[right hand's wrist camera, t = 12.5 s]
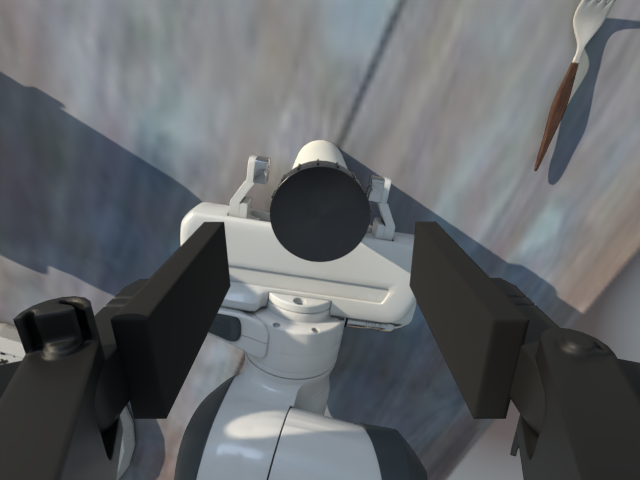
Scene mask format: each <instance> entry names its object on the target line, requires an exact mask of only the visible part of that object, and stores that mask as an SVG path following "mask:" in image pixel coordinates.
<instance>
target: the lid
mask: <svg viewBox="0 0 640 480" xmlns="http://www.w3.org/2000/svg"><path fill="white" fill-rule="evenodd" d="M366 195H367V192H366V190H365V188H364V187H362V186H361V184H360V182H359V180H358V179H357V178H356V176H355V174H354V172H352V173H351V172H350V171H349V170H348V169H346V168H345V167H343V166H341V165H339V164H338V162H336V163H334V162H330V161H322V160H320V161H319V159H317V161H310V162H306V163H303V164H298V166H297V167H295V168H294V169H292V170H291V171H290V172H289V173H287V174H286V175H285V174H284V175H283V177H282V179H281V182H280V184H279V186H278V188H277V190H275V191H274V193H273V195H272V197H271V198H273V199H272V202H271V206H270V215H269V216H270V222H271V226H272V229H273V232H274V234H275V236H276V238H277V240H278V241H279V242H280V244H281V245H282V246H283V247H284V248H285V249H286V250H287V251H289V252H290V253H291V254H293V255H295V256H297V257H299V258H301V259H304V260H307V261H312V262H328V261H333V260H336V259H339V258H341V257H344V256H345V255H347V254H349V253H350V252H351V251H353V250H354V249H355V248H356V247H357V246H358V245H359V244H360V242H361V241H362V240H363V238H364V236H365V234H366V232H367V230H368V226H369V222H370V213H371V211H370V206H369V202H368V198H367V196H366Z"/></svg>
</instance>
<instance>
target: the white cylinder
mask: <svg viewBox="0 0 640 480" xmlns="http://www.w3.org/2000/svg"><path fill="white" fill-rule="evenodd" d="M317 159H319V161H320V160H322V161H330V162H334V163H336V162H338V164H339V165H341V166H343V167H345V168H346V169H347V166H346V164H345V161H344V159H343V156H342V154H341V152H340V151H339V149H338V148H337V147H336V146H335V145H333V144H332V143H330V142H327V141H322V140H317V141H313V142H310V143H308V144H307V145H305V146H304V147H303V148H302V149H301V151H300V152H299V154H298V156H297V159H296V161H295V164H294V166H293V169H294V168H295V167H297V166H298V164H303V163H306V162H310V161H317Z"/></svg>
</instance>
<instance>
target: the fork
mask: <svg viewBox="0 0 640 480" xmlns="http://www.w3.org/2000/svg"><path fill="white" fill-rule="evenodd" d="M606 1H607V0H600V1H599V2H598V0H582V1H581V3H580V4H579V6H578V8H577V10H576V12H575V15H574V19H573V28H574V33H575V36H576V41H577V51H576V54H575V57H574V59H573V61H572V63H571V65H570V67H569V69H568V71H567V74H566V76H565V78H564V80H563V82H562V84H561V86H560V88H559V90H558V92H557V94H556V97H555V99H554V101H553V104H552V107H551V110H550V113H549V117H548V121H547V125H546V129H545V132H544V136H543V140H542V143H541V147H540V150H539V153H538V157H537V160H536V164H535V169H534V171H537V169H538V167H539V166H540V164H541V162H542V159H543V157H544V155H545V153H546V151H547V149H548V147H549V144H550V142H551V140H552V138H553V136H554V134H555V132H556V129H557V127H558V125H559V123H560V121H561V119H562V117H563V115H564V112H565V110H566V107H567V104H568V101H569V98H570V94H571V90H572V87H573V83H574V79H575V75H576V71H577V68H578V64H579V60H580V57H581V54H582V51H583V49H584V47H585V46H586V44H587V43H588V42H589V40H590V39H591V38H592V37H593V36H594V34H595V33H596V32H597V31H598V29H599V28H600V27H601V25H602V24H603V22H604V21H605V19H606V17H607V15H608V14H609V12H610V10H611V8H612V6H613V4H614V3H615V1H616V0H610V1H609V2H608V3H607V4H606Z"/></svg>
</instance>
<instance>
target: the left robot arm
mask: <svg viewBox="0 0 640 480" xmlns="http://www.w3.org/2000/svg"><path fill="white" fill-rule="evenodd" d="M270 160H271V159H270V158H266V157H260V156H255V155H252V156H250V157H249V161H248V170H247V179H246V180H245V182H244V183H243V184H242V186H241V187H240V188H239V190H238V191H237V192H236V194H235V195H234V196H233V198H232V199H231V200H230V206H227V205H221V204H215V203H209V202H202V203H200V204H198V205H197V206H196V207H194V208H193V209H192V210H190V211H189V212H188V213H187V214H186V215H185V217H184V218H183V220H182V223H181V232H180V244H181V245H182V244H183V243H184V242H185V241H186V240H187V239H188V238H189V237H190V236H191V235H192V234H193V233H194V232H195V231H196V230H197V229H198V228H199V227H200V226H201V225H202V224H203V223H204V222H224V224H225V234H226V244H227V254H228V265H229V275H230V285H231V286H230V288H229V290H228V292H227V294H226V296H225V298H224V301H223V303H222V305H221V307H220V309H219V311H218V313H217V315H216V317H215V319H214V321H213V323H212V325H211V327H210V329H209V332H208V334H209V335H211V336H214V337H216V338H218V339H221V340H223V341H225V342H227V343H230V344H232V345H234V346H236V347H238V348H239V349H241V350H243V351H245V357H246V361H245V366H244V369H243V371H242V374H241V375H239V376H237V375H235V376H233V377H231V378H229V379H228V380H226V381H225V382H224V383H223V384H221V385H220V386H219V387H218V388H216V389H215V390H214V391H213V392H212V393H210V394H209V395H208V396H207V397H206V398H205V399H204V400H203V401H202V403H201V404H200V405H199V407H198V408H197V409H196V411H195V413H194V414H193V416H192V418H191V420H190V422H189V424H188V426H187V428H186V430H185V433H184V435H183V438H182V441H181V445H180V449H179V453H178V457H177V463H176V469H175V477H174V480H427V473H426V470H425V468H424V467H423V465H422V463H421V461H420V460H419V458H418V457H417V455H416V454H415V452H414V451H413V449H412V448H411V447H410V445H409V444H408V443H407V441H406V440H405V439H404V438H403V437H402V436H401V434H400V433H399V432H398V431H397V430H395V429H391V428H385V427H379V426H373V425H367V424H362V423H355V424H354V423H350V422H346V421H342V420H339V419H335V418H331V417H327V416H324V413H325V409H326V406H327V402H328V397H329V392H330V382H329V374H330V373H331V371H332V370H333V368H334V366H335V364H336V361H337V357H338V353H339V348H340V344H341V339H342V335H343V329H344V327H352V328H359V329H374V330H378V331H381V332H393V330H394V329H398V328H401V327H404V326H406V325H408V324H409V323H410V322H411V321H412V319H413V315H414V312H415V309H416V305H417V301H416V298H415V296H414V294H413V292H412V290H411V288H410V286H409V285H410V275H411V264H412V254H413V244H414V235H412V234H406V233H399V232H394V231H395V224H394V221H393V218H392V215H391V212H390V209H389V206H388V203H387V200H388V196H389V191H390V187H391V180H390V179H389V178H387V177H381V176H374V175H370V178H369V184H370V185H369V186H368V187H367V195H366V196H367V198H368V201H373V202H377V205H378V208H379V211H380V214H381V217H382V218H379V217H375V218H374V222H373V226H372V228H368V230H367V232H366V234H365V236H364V238H363V240H362V241H361V242H360V244H359V245H358V246H357V247H356V248H355V249H354V250H353V251H351V252H350V253H349V254H347V255H345V256H344V257H341V258H339V259H336V260H333V261H328V262H312V261H307V260H304V259H301V258H299V257H297V256H295V255H293V254H291V253H290V252H289V251H287V250H286V249H285V248H284V247H283V246H282V245H281V244H280V242H279V241H278V240H277V238H276V236H275V234H274V232H273V229H272V226H271V222H270V216H269V215H270V212H266V211H259V210H253V209H251V207H252V198H251V197H245V196H246V194H247V193H248V192H249V190H250V189H251V188H252V186H253V185H254V184H255V183H262V184H266V182H267V181H268V179H269V170H268V168H269V167H270Z"/></svg>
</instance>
